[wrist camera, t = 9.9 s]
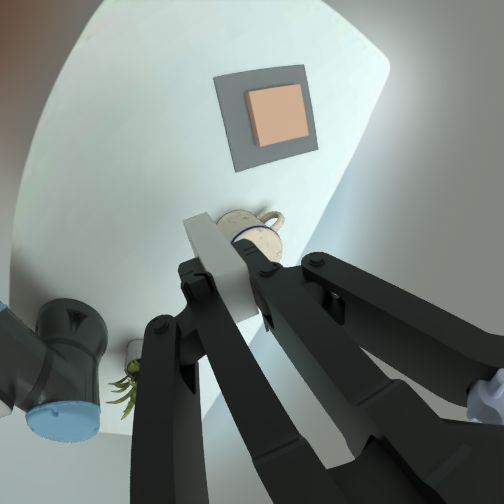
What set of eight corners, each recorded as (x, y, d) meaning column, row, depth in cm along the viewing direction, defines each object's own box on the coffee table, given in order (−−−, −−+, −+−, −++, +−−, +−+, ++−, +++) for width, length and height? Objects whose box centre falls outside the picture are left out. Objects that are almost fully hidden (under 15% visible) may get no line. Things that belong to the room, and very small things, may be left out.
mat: (235, 172, 45) (236, 172, 45) (213, 77, 37) (213, 77, 37) (317, 149, 49) (318, 149, 49) (302, 64, 41) (304, 64, 40)
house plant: (88, 333, 47) (85, 400, 34) (148, 308, 50) (159, 374, 37) (123, 375, 55) (131, 436, 42) (177, 354, 58) (196, 415, 44)
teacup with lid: (232, 265, 53) (257, 301, 44) (200, 234, 48) (220, 267, 38) (280, 221, 53) (315, 248, 43) (253, 186, 48) (286, 206, 38)
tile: (260, 146, 43) (308, 135, 45) (248, 91, 38) (300, 84, 40) (255, 145, 44) (302, 134, 46) (243, 92, 40) (293, 84, 42)
